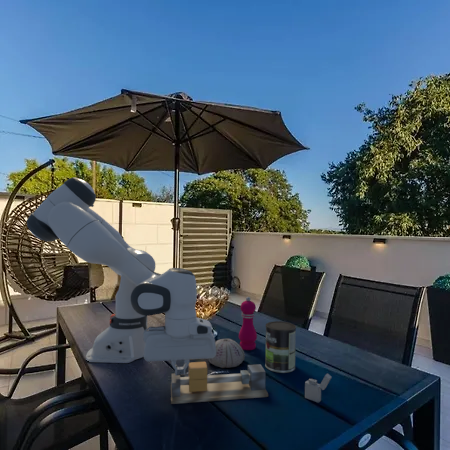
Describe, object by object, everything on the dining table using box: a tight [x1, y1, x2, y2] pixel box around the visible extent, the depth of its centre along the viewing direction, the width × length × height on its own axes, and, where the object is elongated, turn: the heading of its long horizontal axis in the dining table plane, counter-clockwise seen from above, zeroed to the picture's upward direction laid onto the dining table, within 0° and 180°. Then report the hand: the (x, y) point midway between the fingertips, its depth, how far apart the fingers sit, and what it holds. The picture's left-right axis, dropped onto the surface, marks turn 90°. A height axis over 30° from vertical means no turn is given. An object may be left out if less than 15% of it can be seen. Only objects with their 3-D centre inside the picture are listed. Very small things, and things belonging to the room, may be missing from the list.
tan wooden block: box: [188, 361, 208, 392], centre depth 95 cm, size 5×5×6 cm
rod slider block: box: [170, 363, 269, 405], centre depth 96 cm, size 27×10×6 cm, turn 99°
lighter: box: [304, 373, 332, 404], centre depth 91 cm, size 7×2×8 cm, turn 51°
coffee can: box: [264, 320, 297, 374], centre depth 113 cm, size 10×10×14 cm
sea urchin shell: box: [207, 338, 246, 369], centre depth 116 cm, size 13×14×8 cm
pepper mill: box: [238, 296, 258, 351], centre depth 131 cm, size 7×7×20 cm
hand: (180, 374), depth 94 cm, fingers closed
